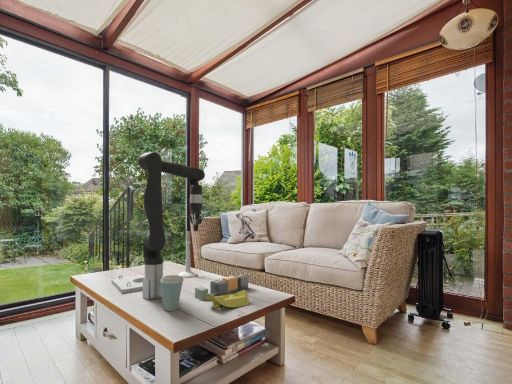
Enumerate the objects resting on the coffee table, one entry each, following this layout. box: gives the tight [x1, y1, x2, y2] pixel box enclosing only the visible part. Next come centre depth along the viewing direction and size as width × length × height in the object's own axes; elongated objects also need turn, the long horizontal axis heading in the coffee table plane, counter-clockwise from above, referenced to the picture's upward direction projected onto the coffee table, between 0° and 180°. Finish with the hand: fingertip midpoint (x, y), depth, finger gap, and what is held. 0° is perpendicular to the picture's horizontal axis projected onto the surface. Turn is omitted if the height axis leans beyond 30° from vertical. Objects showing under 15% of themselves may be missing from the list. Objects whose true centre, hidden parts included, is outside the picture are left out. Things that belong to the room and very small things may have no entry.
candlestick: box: [177, 231, 198, 279], centre depth 199 cm, size 13×13×30 cm
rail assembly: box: [208, 273, 249, 296], centre depth 163 cm, size 26×7×7 cm, turn 138°
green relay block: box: [194, 286, 209, 301], centre depth 152 cm, size 4×6×5 cm, turn 44°
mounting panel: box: [110, 273, 167, 295], centre depth 179 cm, size 27×5×30 cm
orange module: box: [221, 275, 238, 291], centre depth 164 cm, size 7×5×6 cm
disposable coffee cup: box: [160, 274, 184, 312], centre depth 138 cm, size 11×11×15 cm
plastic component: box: [205, 289, 250, 309], centre depth 142 cm, size 20×7×10 cm
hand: (195, 231), depth 178 cm, fingers closed
